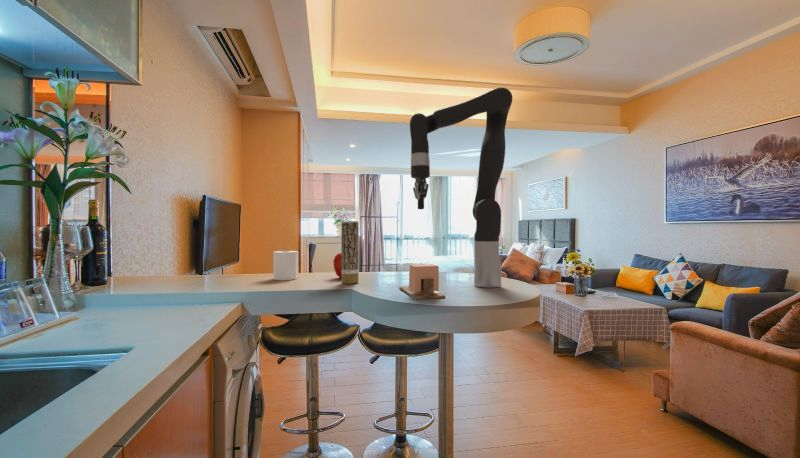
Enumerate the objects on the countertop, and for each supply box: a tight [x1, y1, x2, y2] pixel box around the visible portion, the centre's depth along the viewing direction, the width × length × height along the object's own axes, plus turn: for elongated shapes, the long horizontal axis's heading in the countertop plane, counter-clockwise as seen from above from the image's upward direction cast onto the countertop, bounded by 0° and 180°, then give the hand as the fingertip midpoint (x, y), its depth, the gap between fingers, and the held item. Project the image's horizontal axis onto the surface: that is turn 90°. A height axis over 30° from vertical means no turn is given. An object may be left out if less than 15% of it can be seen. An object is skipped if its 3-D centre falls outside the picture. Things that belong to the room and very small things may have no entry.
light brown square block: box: [409, 263, 440, 292], centre depth 116 cm, size 8×6×8 cm
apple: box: [332, 252, 342, 279], centre depth 157 cm, size 9×9×12 cm
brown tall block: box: [341, 220, 360, 285], centre depth 142 cm, size 7×7×25 cm
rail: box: [399, 272, 446, 300], centre depth 120 cm, size 10×20×6 cm, turn 14°
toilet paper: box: [272, 250, 299, 281], centre depth 155 cm, size 10×10×12 cm
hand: (420, 209), depth 141 cm, fingers closed
